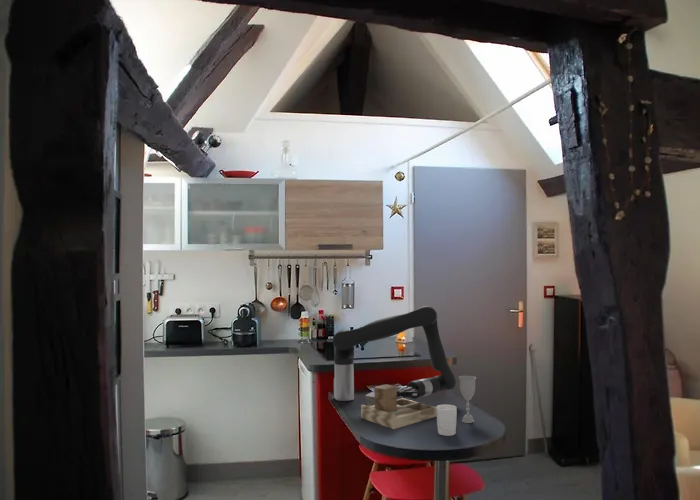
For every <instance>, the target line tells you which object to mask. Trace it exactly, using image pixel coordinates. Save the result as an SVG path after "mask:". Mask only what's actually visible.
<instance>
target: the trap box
mask: <svg viewBox="0 0 700 500" xmlns="http://www.w3.org/2000/svg"><path fill="white" fill-rule="evenodd" d="M435 417H436V418H437V415H436V406H433V405H430V404H426V403H422V402H418V401H414V400H411V399H409V398H404V397H400V398H399V399H398V398H397V411H394V412H390V413H388V412H385V411H382V410H378V409H375V405H373V406H366V404H361V405H360V419H362V420H366V421H369V422H372V423H374V424H378V425H381V426H383V427H387V428H389V429H392V430H395V429H400V428H402V427H406V426H410V425H413V424H416V423H419V422H423V421H426V420H430V419H432V418H435Z"/></svg>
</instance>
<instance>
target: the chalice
mask: <svg viewBox="0 0 700 500" xmlns="http://www.w3.org/2000/svg"><path fill="white" fill-rule="evenodd" d="M458 379H459V390H460V394H461V396H462V397H463V399H464V400H465V401H466V403H465V406H466V408H465V410H466V414H464V415H463V417H462V420H461V422H463V423H464V424H465V423H466V424H473V423H475V419H474V417H473V415H472V414H470V410H471V409H470V406H471V404H470V400H472V399H473V397H474V394H475V392H476V379H477V377H476V376H473V375H460V376H458ZM472 422H473V423H472Z"/></svg>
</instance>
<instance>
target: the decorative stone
mask: <svg viewBox="0 0 700 500" xmlns="http://www.w3.org/2000/svg"><path fill="white" fill-rule="evenodd" d="M365 403H366V404H365V405H366V406H373V405H375V394H374V391H372V392H369V393H367V394H365Z"/></svg>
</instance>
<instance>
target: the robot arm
mask: <svg viewBox="0 0 700 500" xmlns="http://www.w3.org/2000/svg"><path fill="white" fill-rule="evenodd" d="M418 327H422V329H423V331H424V335H425V338H426V343H427V347H428V348H427V349H428V353H429V358H430V362H431V366H432V369H433V370H434V371H438V372H440V374H441V375H440V374H439V375H435V376H433V377H427V378H420V379H415V380H412V381H410V382H408V384H407V385H404V386H402V387H399V385H398V386H396V388H397V398H404V399H409V398H411V399H415V400H416V399H420V398H423V397H427V396H429V395H432V394H433V395H434V394H436V393H438V392H443V391H450V390H453V389H454V388H455V387H456V384H457V381H456V380H457V379H456V377H455V375H454V373H453V371H452V369H451V367H450V366H449V364H448V360H447V357H446V353H445V352H446V351H445V350H444V347H443V343H442V341H441V336H440V333H439V328H438V314H437V310H435V308H433V307H432V306H430V305H423V306H421V307H419V308H417V309H414V310H412V311H408V312H407V313H403V314H402V313H401V314H396V315H393V316H387V317H384V318H380V319H377V320H374V321H371V322H369V323H367V324H365V325H363V326H360V327H358V328H353V329H340V330H338V331H337V332H336V333H335V334H334V335H333V338H332V345H333V346H334V348H335V351H334V352H335V353H334V364H333V365H334V378H333V398H334V400H336V401H339V402H340V401H341V402H348V401H352V400H354V399H355V385H354V384H355V380H354V379H355V376H354V374H355V373H354V357H355V346H358V345H360V344H364V343H370V342H375V341H378V340H383V339H387V338H391V337H393V336H396V335H399V334H401V333H403V332H405V331H407V330H410V329H414V328H418Z"/></svg>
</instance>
